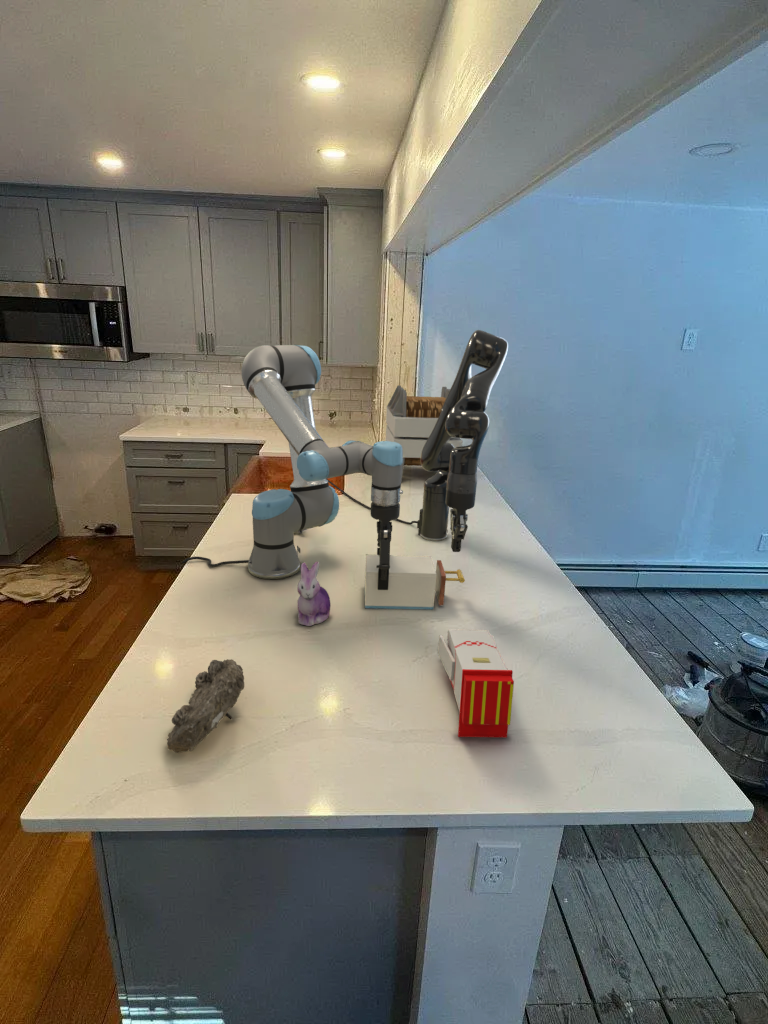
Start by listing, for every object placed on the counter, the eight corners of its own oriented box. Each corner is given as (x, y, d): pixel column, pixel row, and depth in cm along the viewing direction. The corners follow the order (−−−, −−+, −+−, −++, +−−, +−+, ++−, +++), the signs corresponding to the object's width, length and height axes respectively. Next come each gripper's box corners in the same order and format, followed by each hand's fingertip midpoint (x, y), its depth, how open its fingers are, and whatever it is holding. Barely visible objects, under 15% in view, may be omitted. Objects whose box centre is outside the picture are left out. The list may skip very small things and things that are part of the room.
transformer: (382, 463, 289) (386, 382, 275) (445, 464, 293) (451, 384, 279) (390, 482, 257) (394, 392, 243) (460, 483, 261) (468, 394, 247)
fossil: (192, 660, 117) (244, 628, 112) (224, 691, 120) (276, 661, 115) (142, 746, 98) (202, 712, 93) (182, 779, 101) (242, 748, 96)
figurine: (302, 631, 137) (302, 575, 132) (289, 611, 146) (288, 558, 141) (338, 623, 142) (339, 568, 137) (323, 604, 150) (323, 552, 145)
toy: (488, 613, 130) (523, 677, 101) (484, 667, 133) (517, 744, 104) (435, 612, 130) (455, 676, 101) (432, 666, 133) (451, 743, 103)
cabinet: (428, 590, 161) (431, 555, 157) (433, 609, 151) (436, 573, 147) (364, 588, 160) (365, 554, 156) (364, 608, 150) (366, 571, 146)
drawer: (458, 588, 160) (460, 560, 158) (464, 605, 151) (467, 576, 148) (378, 586, 159) (379, 558, 156) (379, 604, 150) (381, 574, 147)
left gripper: (403, 518, 135) (398, 600, 142) (397, 489, 157) (393, 561, 164) (371, 517, 134) (368, 599, 142) (370, 488, 156) (367, 560, 164)
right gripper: (481, 496, 139) (474, 561, 145) (471, 480, 152) (465, 540, 157) (450, 496, 138) (445, 560, 144) (443, 480, 151) (438, 540, 157)
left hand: (382, 579), depth 153 cm, fingers closed on cabinet, 11 cm apart
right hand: (455, 550), depth 151 cm, fingers closed
